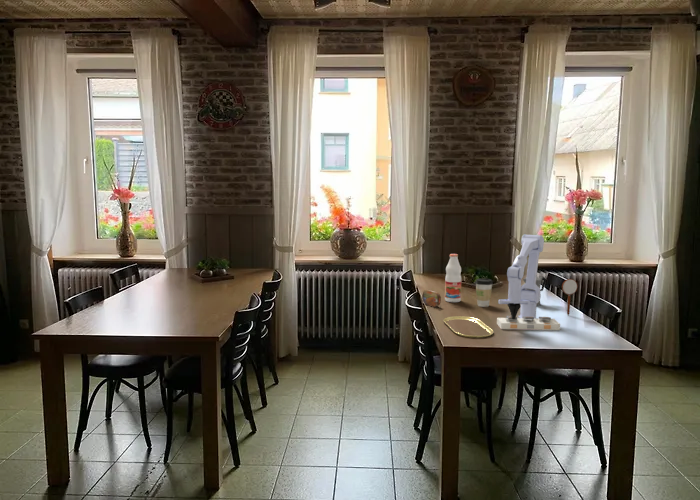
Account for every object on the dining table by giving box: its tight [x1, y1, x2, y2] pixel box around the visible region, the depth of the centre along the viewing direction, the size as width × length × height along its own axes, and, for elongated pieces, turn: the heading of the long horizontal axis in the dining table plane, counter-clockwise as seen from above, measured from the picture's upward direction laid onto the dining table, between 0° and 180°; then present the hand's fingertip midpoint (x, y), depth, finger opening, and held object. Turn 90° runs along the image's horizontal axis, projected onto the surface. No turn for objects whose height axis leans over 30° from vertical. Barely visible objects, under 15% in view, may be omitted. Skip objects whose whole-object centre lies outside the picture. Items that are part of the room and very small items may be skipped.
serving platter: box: [443, 315, 494, 339], centre depth 262 cm, size 19×35×2 cm, turn 6°
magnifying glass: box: [561, 278, 579, 317], centre depth 283 cm, size 9×2×20 cm, turn 96°
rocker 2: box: [538, 316, 552, 320], centre depth 262 cm, size 6×4×1 cm, turn 176°
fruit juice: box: [444, 253, 462, 303], centre depth 317 cm, size 9×9×28 cm
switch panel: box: [496, 317, 561, 331], centre depth 263 cm, size 10×28×4 cm, turn 86°
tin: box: [421, 289, 442, 308], centre depth 308 cm, size 15×3×8 cm, turn 27°
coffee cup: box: [474, 278, 494, 308], centre depth 306 cm, size 10×10×15 cm
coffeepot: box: [522, 276, 547, 307], centre depth 310 cm, size 15×9×18 cm, turn 107°
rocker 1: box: [505, 315, 518, 320], centre depth 263 cm, size 6×4×1 cm, turn 176°
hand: (513, 318), depth 260 cm, fingers closed, pressing on rocker 1
